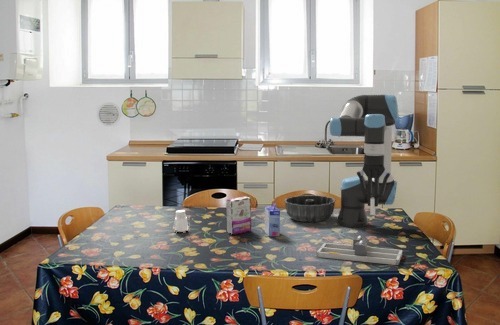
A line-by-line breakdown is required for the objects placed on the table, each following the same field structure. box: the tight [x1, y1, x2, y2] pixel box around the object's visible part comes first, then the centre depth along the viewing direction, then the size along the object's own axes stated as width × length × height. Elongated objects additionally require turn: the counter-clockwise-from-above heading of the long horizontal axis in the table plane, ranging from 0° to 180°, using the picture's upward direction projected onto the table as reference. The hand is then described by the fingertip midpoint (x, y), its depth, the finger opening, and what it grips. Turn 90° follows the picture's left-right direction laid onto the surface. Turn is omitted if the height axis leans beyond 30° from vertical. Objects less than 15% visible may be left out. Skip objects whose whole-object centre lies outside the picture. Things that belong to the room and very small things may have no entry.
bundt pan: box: [283, 194, 337, 223], centre depth 294 cm, size 26×26×10 cm
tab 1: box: [352, 235, 366, 250], centre depth 231 cm, size 4×4×7 cm
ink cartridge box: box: [263, 202, 281, 237], centre depth 265 cm, size 10×6×14 cm, turn 11°
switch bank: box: [315, 242, 403, 266], centre depth 228 cm, size 14×32×4 cm, turn 69°
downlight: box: [172, 209, 191, 231], centre depth 273 cm, size 8×7×10 cm
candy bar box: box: [225, 196, 252, 235], centre depth 269 cm, size 11×5×16 cm, turn 126°
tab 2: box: [355, 241, 368, 256], centre depth 225 cm, size 4×4×7 cm
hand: (372, 214), depth 222 cm, fingers closed
